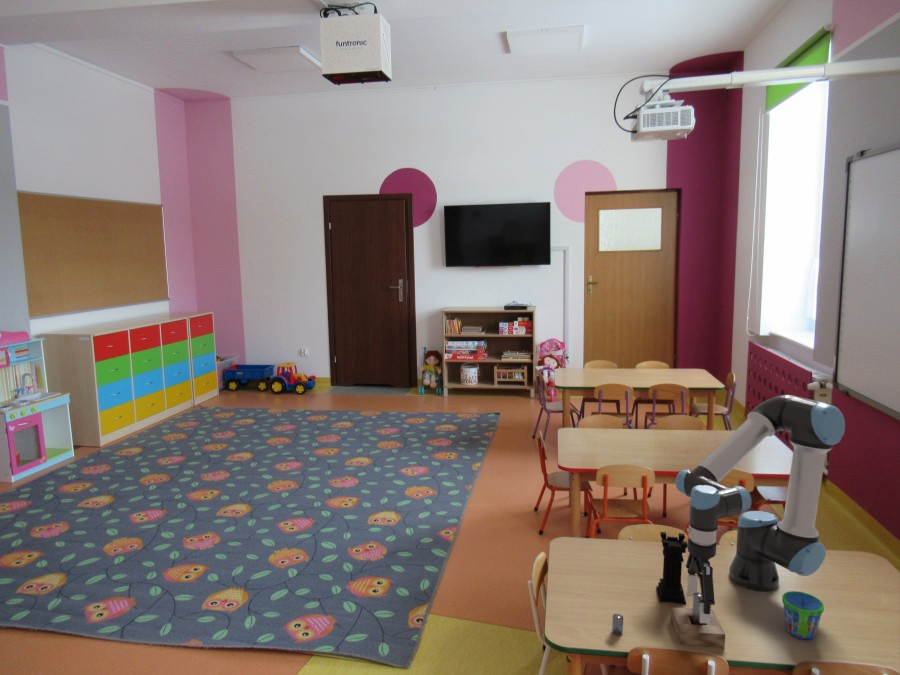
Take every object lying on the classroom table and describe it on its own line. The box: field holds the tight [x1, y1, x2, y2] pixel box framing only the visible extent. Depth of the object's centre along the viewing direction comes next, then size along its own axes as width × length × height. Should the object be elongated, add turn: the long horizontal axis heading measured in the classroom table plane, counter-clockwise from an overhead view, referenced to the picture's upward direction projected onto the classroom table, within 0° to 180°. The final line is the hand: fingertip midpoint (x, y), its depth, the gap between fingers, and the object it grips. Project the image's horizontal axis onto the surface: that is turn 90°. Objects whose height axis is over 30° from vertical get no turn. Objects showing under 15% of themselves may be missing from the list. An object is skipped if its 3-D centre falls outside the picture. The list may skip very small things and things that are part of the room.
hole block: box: [670, 607, 726, 648], centre depth 185 cm, size 12×12×4 cm
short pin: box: [611, 613, 624, 637], centre depth 185 cm, size 3×3×5 cm
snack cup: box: [781, 590, 825, 640], centre depth 184 cm, size 16×11×10 cm
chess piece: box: [656, 531, 688, 605], centre depth 202 cm, size 8×8×20 cm
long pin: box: [692, 591, 703, 625], centre depth 184 cm, size 3×3×12 cm
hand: (698, 608), depth 184 cm, fingers open, 13 cm apart
